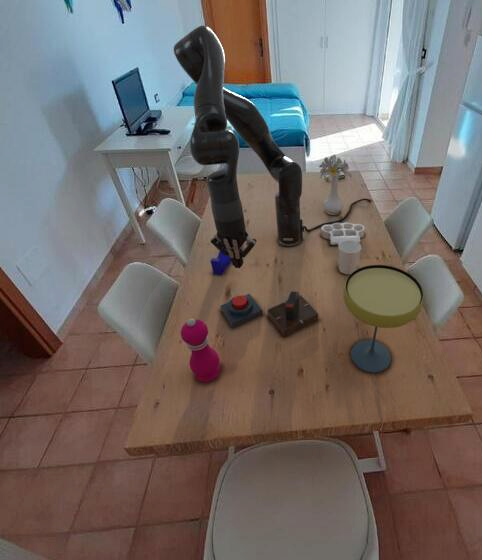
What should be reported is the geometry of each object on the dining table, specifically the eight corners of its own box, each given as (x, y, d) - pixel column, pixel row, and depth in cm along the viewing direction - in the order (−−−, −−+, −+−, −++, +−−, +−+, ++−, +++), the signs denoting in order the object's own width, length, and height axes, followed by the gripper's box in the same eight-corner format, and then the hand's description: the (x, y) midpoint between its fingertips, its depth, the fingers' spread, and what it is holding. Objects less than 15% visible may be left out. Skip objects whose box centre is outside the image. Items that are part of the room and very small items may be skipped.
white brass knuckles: (322, 247, 131) (320, 228, 142) (367, 246, 132) (361, 227, 143) (323, 240, 129) (320, 221, 140) (368, 239, 129) (362, 220, 141)
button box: (250, 298, 108) (248, 289, 105) (262, 314, 102) (261, 305, 100) (221, 310, 104) (219, 301, 101) (232, 328, 98) (230, 319, 95)
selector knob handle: (291, 303, 102) (290, 290, 99) (299, 304, 102) (298, 291, 98) (285, 319, 97) (284, 306, 93) (293, 320, 96) (293, 307, 93)
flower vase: (340, 201, 161) (343, 149, 145) (350, 220, 147) (355, 164, 131) (314, 203, 159) (314, 151, 143) (322, 222, 145) (323, 167, 129)
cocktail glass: (358, 395, 81) (370, 327, 65) (327, 342, 94) (330, 274, 78) (417, 370, 87) (442, 302, 71) (381, 323, 100) (394, 257, 84)
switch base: (299, 300, 107) (299, 293, 105) (319, 321, 100) (319, 314, 98) (267, 315, 102) (266, 308, 100) (285, 338, 95) (284, 331, 93)
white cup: (361, 265, 122) (364, 243, 115) (354, 278, 116) (356, 255, 110) (341, 260, 124) (343, 237, 118) (333, 272, 119) (334, 249, 112)
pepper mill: (196, 361, 89) (177, 309, 76) (223, 359, 89) (209, 307, 76) (191, 385, 83) (169, 333, 70) (220, 383, 84) (204, 331, 71)
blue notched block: (223, 254, 127) (220, 241, 123) (234, 255, 126) (231, 242, 122) (209, 273, 118) (206, 259, 114) (221, 275, 117) (218, 261, 113)
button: (243, 297, 103) (243, 293, 102) (250, 305, 100) (249, 301, 99) (230, 303, 101) (229, 298, 100) (236, 311, 98) (235, 307, 97)
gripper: (257, 208, 86) (264, 261, 97) (209, 204, 88) (221, 256, 99) (248, 222, 80) (256, 277, 92) (197, 218, 82) (211, 272, 93)
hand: (238, 266), depth 95 cm, fingers closed
